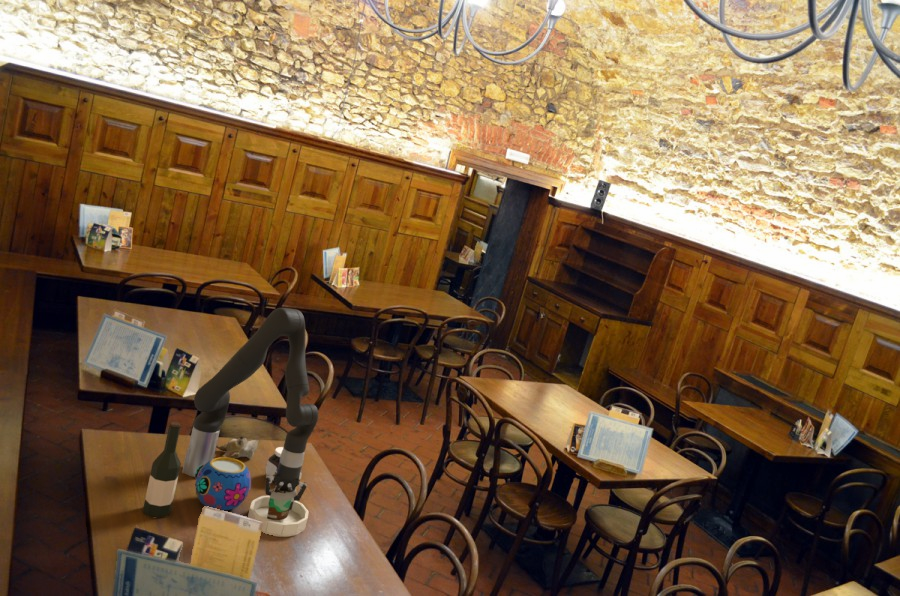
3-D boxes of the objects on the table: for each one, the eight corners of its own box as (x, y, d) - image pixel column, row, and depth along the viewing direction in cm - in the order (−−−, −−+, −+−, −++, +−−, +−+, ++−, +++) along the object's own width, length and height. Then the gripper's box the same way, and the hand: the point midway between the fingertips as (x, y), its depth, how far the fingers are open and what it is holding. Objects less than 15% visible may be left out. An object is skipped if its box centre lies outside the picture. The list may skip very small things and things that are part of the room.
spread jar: (260, 477, 271) (267, 448, 269) (278, 469, 281) (284, 441, 279) (287, 489, 267) (294, 460, 265) (304, 480, 277) (311, 452, 275)
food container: (282, 526, 236) (288, 498, 235) (264, 520, 237) (271, 492, 236) (297, 511, 248) (303, 484, 247) (280, 505, 249) (286, 478, 248)
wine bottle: (176, 511, 233) (195, 424, 228) (158, 521, 225) (177, 431, 220) (155, 502, 235) (173, 415, 230) (136, 511, 227) (155, 421, 222)
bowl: (243, 530, 232) (246, 517, 232) (253, 502, 251) (255, 491, 250) (302, 541, 235) (305, 529, 234) (307, 513, 254) (310, 501, 253)
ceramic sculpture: (262, 442, 280) (223, 443, 272) (259, 463, 282) (220, 464, 274) (255, 430, 289) (217, 431, 281) (252, 451, 291) (213, 452, 283)
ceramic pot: (188, 491, 247) (197, 450, 245) (241, 494, 255) (250, 454, 252) (192, 518, 231) (202, 475, 229) (248, 520, 239) (258, 478, 237)
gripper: (267, 461, 235) (256, 509, 238) (311, 470, 237) (300, 518, 240) (271, 452, 242) (259, 499, 245) (313, 461, 244) (302, 507, 247)
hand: (279, 508), depth 242 cm, fingers closed on food container, 5 cm apart
